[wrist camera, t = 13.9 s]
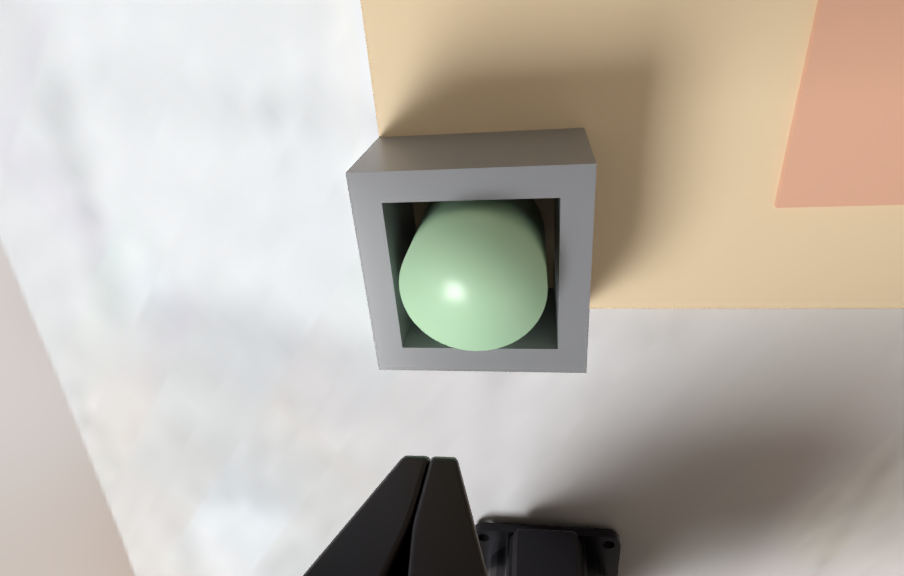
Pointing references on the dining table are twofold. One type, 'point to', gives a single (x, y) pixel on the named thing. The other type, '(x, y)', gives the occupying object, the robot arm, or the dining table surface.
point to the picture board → (683, 134)
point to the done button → (476, 272)
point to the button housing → (476, 178)
